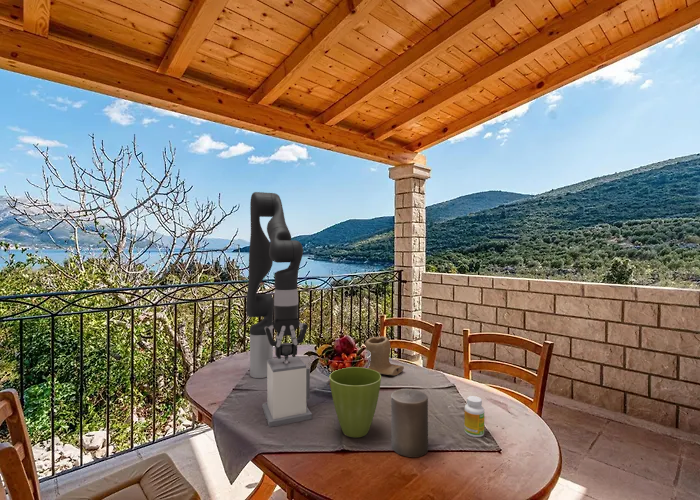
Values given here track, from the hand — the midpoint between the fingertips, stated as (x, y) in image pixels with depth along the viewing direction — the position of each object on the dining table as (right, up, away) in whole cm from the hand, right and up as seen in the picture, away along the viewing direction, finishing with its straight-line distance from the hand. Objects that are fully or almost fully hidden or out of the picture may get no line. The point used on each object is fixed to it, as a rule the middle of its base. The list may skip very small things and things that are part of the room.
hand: (286, 356), depth 112 cm
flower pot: (+22, -18, -10) cm, 30 cm away
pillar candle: (+36, -19, -18) cm, 44 cm away
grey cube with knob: (0, -18, 0) cm, 18 cm away
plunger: (0, -15, 0) cm, 15 cm away
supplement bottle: (+56, -18, -11) cm, 60 cm away
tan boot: (+34, -18, +36) cm, 53 cm away
